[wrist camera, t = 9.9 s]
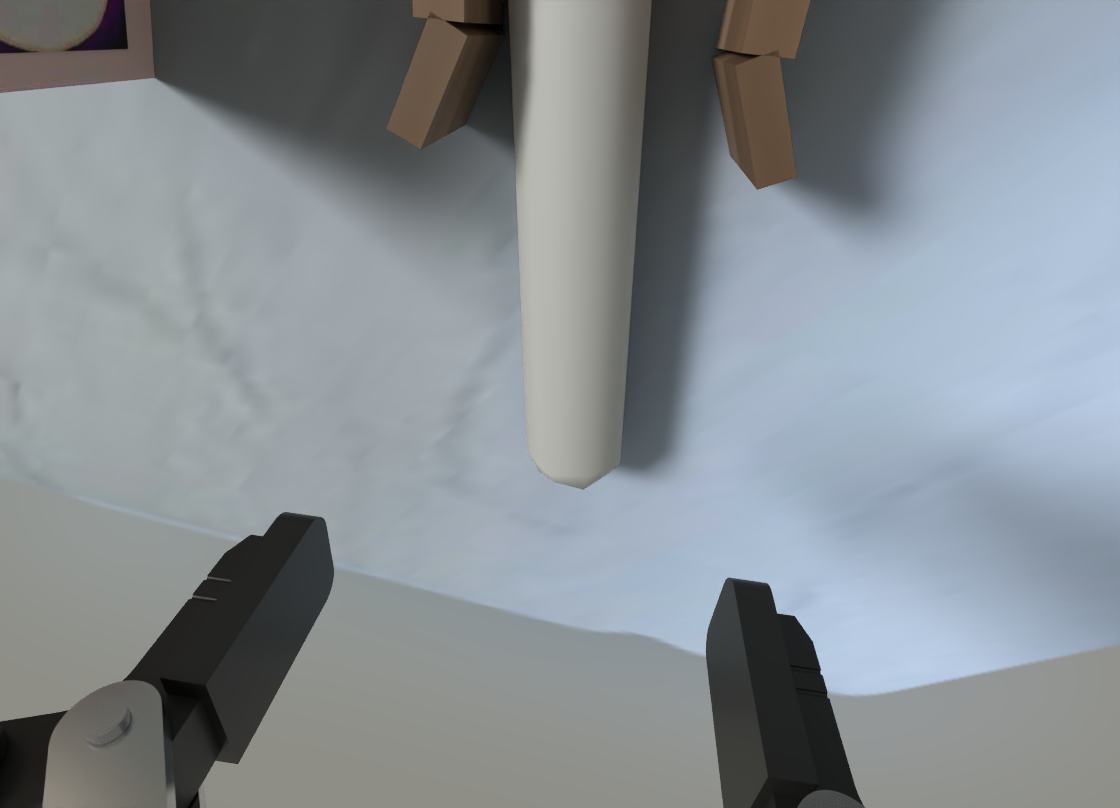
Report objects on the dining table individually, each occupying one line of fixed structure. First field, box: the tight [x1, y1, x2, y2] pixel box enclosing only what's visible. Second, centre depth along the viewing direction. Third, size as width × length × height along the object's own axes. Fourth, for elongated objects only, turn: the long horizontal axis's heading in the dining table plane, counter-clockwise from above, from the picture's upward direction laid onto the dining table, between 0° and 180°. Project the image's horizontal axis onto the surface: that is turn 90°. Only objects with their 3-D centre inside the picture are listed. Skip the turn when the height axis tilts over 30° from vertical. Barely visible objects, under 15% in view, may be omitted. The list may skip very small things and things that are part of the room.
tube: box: [508, 0, 652, 489], centre depth 24 cm, size 5×5×25 cm
